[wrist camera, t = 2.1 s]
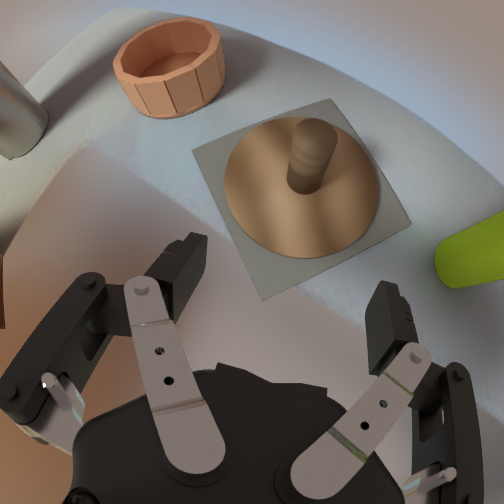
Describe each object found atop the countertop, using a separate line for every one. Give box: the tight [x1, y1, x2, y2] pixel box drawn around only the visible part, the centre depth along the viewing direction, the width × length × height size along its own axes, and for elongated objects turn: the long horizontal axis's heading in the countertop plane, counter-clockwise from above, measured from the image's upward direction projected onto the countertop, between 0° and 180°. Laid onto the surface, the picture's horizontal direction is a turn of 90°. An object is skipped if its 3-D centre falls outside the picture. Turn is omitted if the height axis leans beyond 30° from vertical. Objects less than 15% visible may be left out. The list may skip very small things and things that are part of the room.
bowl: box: [113, 17, 226, 119], centre depth 31 cm, size 13×13×7 cm
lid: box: [224, 116, 378, 259], centre depth 26 cm, size 16×16×9 cm
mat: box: [192, 99, 411, 301], centre depth 30 cm, size 18×18×1 cm
